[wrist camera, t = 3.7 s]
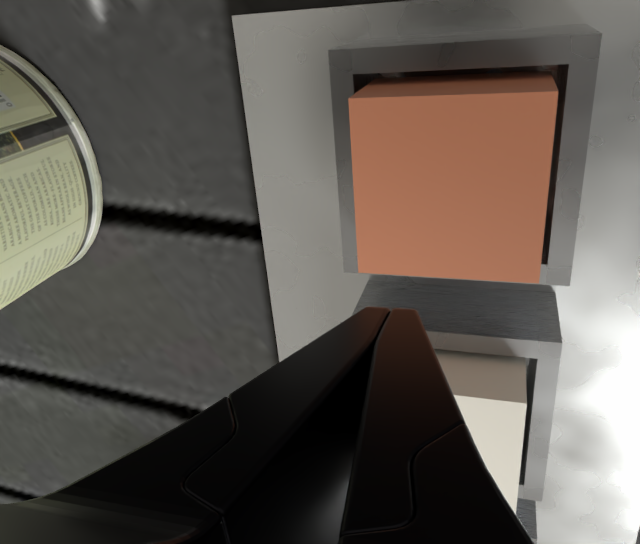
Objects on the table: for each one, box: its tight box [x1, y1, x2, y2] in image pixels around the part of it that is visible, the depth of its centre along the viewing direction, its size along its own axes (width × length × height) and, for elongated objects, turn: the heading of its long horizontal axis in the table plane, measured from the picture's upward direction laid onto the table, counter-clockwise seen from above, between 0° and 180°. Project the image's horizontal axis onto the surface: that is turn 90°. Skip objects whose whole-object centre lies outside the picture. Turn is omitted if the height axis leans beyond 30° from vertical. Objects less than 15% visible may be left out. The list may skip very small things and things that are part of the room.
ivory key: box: [434, 349, 527, 514], centre depth 18 cm, size 4×4×3 cm
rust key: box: [348, 71, 558, 284], centre depth 14 cm, size 4×4×3 cm
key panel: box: [232, 0, 640, 544], centre depth 20 cm, size 14×24×4 cm, turn 5°
